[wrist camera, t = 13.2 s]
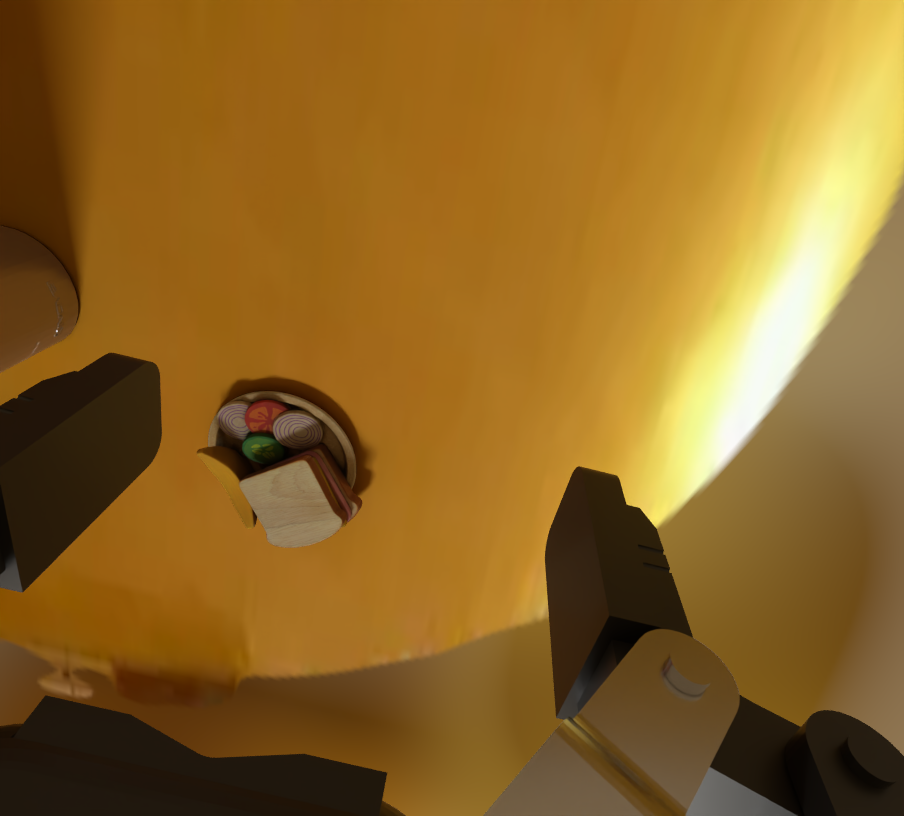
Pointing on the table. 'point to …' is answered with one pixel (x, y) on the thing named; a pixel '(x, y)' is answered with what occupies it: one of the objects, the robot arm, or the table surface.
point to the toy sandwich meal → (283, 466)
